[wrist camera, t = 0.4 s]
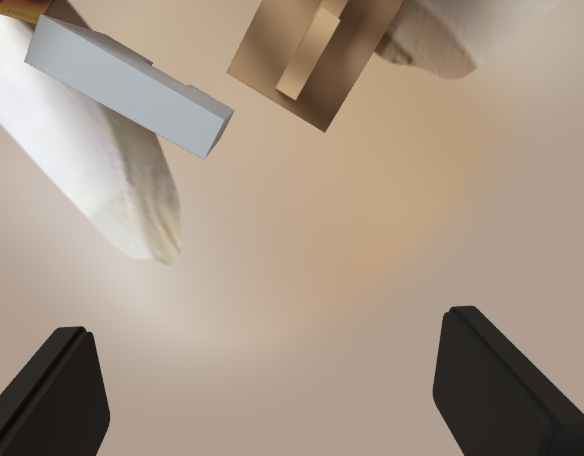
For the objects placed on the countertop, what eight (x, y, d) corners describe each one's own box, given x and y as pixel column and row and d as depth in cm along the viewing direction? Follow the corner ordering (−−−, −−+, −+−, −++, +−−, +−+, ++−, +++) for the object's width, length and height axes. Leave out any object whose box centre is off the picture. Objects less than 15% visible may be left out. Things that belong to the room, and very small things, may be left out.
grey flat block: (105, 34, 32) (40, 14, 23) (234, 110, 35) (224, 120, 25) (91, 68, 33) (24, 61, 23) (219, 139, 36) (204, 159, 26)
